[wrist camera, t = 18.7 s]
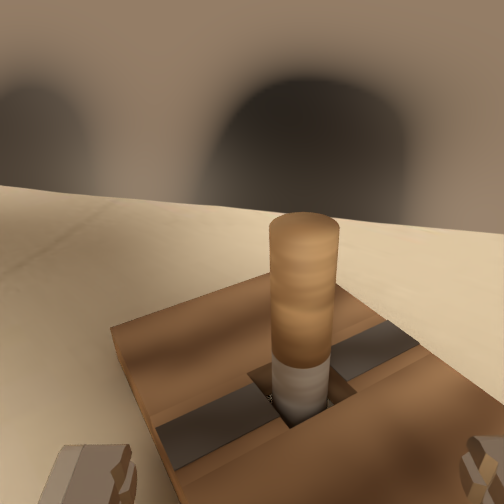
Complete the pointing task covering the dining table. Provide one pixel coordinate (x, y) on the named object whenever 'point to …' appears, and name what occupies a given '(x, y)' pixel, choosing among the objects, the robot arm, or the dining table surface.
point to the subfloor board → (312, 430)
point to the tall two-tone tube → (302, 312)
